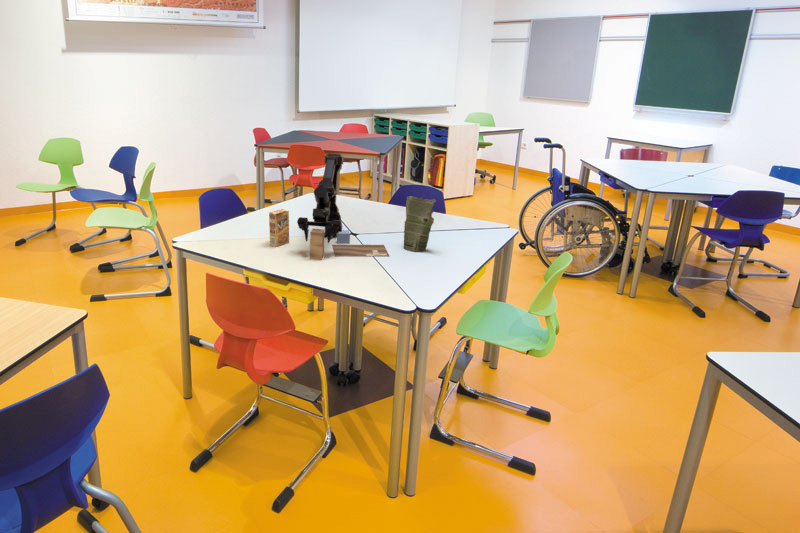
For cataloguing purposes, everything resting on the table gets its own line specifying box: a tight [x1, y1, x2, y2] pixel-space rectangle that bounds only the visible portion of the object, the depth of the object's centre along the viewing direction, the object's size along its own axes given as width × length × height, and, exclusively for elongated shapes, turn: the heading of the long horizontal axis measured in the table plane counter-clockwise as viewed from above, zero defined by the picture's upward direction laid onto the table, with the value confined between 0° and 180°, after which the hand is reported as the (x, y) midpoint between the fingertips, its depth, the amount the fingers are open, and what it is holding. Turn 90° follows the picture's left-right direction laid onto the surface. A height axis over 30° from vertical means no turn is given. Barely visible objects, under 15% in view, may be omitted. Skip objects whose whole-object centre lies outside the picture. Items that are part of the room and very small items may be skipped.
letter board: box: [331, 244, 391, 258], centre depth 251 cm, size 17×24×1 cm
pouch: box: [403, 195, 437, 253], centre depth 255 cm, size 11×12×25 cm
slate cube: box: [336, 229, 351, 245], centre depth 261 cm, size 6×6×6 cm
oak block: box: [309, 228, 325, 261], centre depth 238 cm, size 5×5×12 cm
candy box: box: [268, 208, 290, 248], centre depth 252 cm, size 9×4×15 cm, turn 150°
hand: (317, 241), depth 237 cm, fingers open, 9 cm apart
